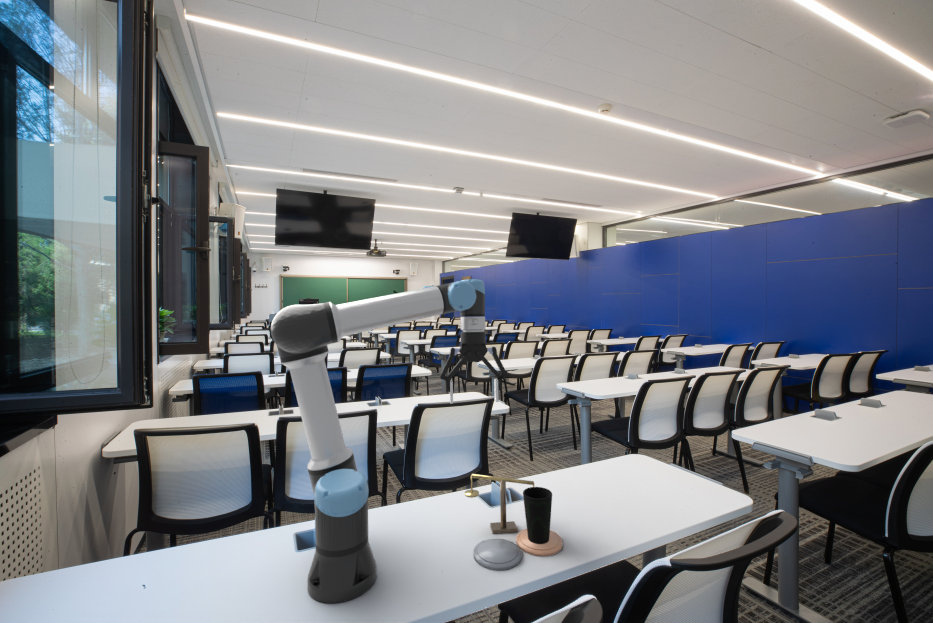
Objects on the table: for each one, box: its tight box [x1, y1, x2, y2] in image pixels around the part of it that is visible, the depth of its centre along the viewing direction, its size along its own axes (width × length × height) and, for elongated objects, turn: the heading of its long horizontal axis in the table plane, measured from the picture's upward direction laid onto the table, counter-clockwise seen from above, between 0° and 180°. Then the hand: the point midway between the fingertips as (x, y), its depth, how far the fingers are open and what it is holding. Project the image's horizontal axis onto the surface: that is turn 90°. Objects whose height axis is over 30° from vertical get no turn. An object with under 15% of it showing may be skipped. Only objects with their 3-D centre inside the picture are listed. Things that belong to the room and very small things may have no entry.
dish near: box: [473, 538, 522, 571], centre depth 101 cm, size 12×12×1 cm
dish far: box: [516, 528, 563, 557], centre depth 106 cm, size 12×12×1 cm
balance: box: [464, 473, 535, 535], centre depth 114 cm, size 22×4×16 cm, turn 96°
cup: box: [522, 486, 553, 544], centre depth 107 cm, size 8×8×12 cm
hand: (474, 402), depth 120 cm, fingers open, 13 cm apart
